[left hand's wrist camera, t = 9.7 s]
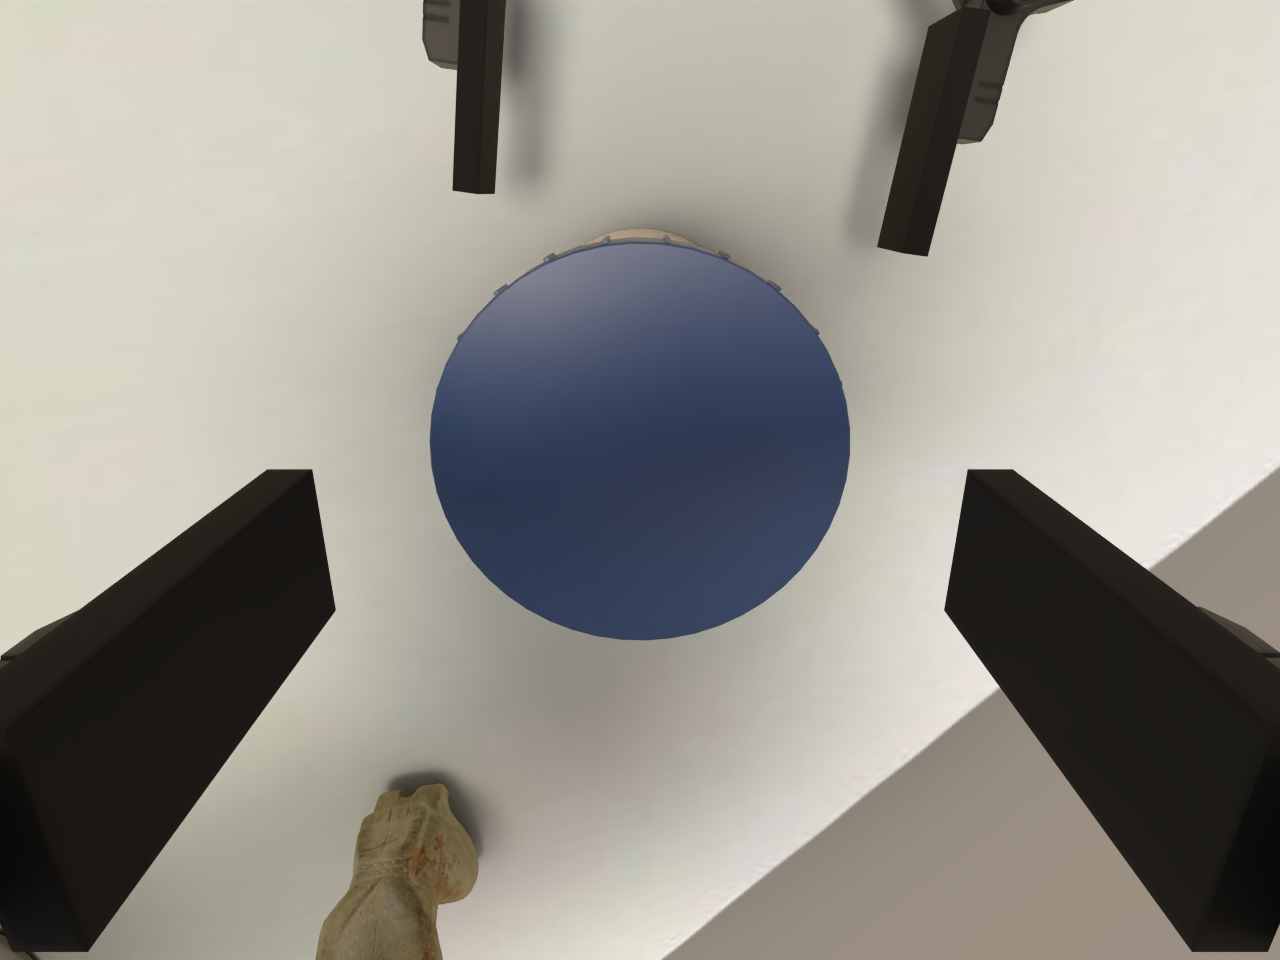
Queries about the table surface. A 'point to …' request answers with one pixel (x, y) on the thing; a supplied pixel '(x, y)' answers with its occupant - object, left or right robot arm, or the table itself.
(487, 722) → the table surface
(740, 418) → the lid
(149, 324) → the table surface
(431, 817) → the sculpture
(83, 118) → the table surface
